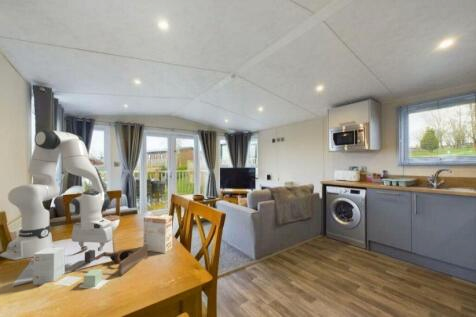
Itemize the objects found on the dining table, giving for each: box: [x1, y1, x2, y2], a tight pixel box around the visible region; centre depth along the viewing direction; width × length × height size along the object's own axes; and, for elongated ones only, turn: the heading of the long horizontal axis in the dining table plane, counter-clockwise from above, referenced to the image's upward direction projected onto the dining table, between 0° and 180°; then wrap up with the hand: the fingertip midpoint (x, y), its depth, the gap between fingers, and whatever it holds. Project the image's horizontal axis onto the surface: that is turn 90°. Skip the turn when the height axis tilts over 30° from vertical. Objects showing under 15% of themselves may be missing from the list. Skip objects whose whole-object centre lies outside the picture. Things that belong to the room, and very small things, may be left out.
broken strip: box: [52, 275, 110, 290], centre depth 83 cm, size 21×6×1 cm, turn 82°
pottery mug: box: [109, 249, 135, 269], centre depth 99 cm, size 12×10×8 cm
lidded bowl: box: [102, 214, 121, 232], centre depth 149 cm, size 13×13×11 cm
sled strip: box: [69, 245, 149, 277], centre depth 99 cm, size 27×19×7 cm
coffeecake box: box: [142, 213, 173, 254], centre depth 117 cm, size 15×7×20 cm, turn 74°
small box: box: [32, 246, 66, 286], centre depth 86 cm, size 8×6×13 cm
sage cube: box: [83, 268, 103, 287], centre depth 82 cm, size 4×4×4 cm
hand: (92, 250), depth 101 cm, fingers open, 8 cm apart
